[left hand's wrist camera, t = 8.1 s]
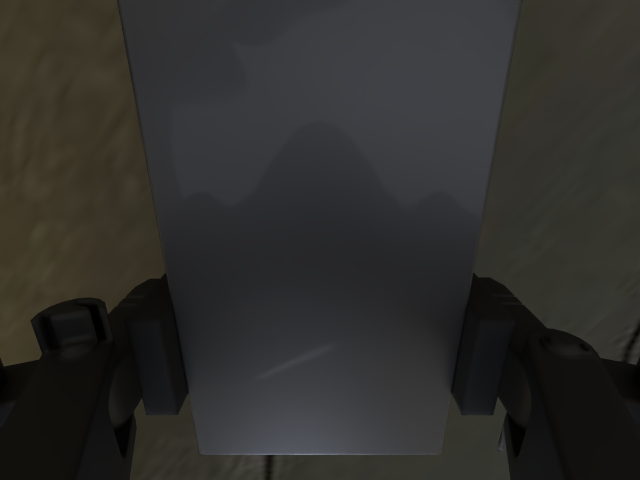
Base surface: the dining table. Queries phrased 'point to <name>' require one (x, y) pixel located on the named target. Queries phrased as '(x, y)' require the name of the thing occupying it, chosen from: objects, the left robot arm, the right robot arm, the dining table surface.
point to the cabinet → (319, 208)
